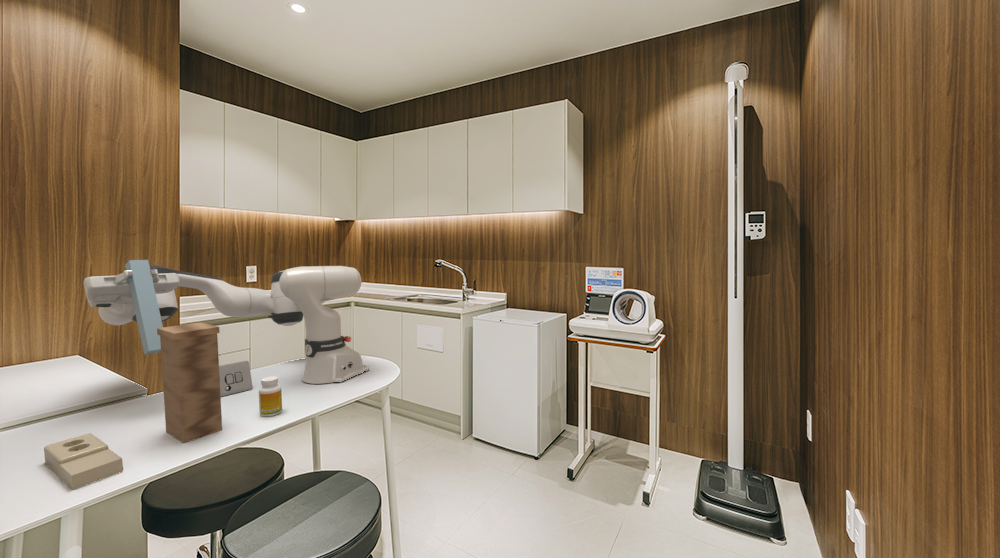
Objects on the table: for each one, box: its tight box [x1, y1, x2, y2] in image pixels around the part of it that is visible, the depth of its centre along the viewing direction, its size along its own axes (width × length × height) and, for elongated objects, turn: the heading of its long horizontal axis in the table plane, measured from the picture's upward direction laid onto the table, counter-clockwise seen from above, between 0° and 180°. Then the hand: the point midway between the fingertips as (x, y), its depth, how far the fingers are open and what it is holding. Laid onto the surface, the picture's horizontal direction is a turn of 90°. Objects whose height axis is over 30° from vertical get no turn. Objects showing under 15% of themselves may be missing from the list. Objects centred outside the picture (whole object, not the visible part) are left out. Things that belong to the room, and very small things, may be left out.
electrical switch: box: [219, 360, 253, 397], centre depth 124 cm, size 9×5×9 cm, turn 141°
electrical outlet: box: [43, 433, 124, 490], centre depth 82 cm, size 7×4×18 cm
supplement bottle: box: [258, 376, 283, 417], centre depth 108 cm, size 5×5×10 cm
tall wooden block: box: [157, 321, 223, 444], centre depth 97 cm, size 9×10×26 cm
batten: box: [124, 259, 164, 356], centre depth 110 cm, size 4×26×4 cm
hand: (141, 272), depth 110 cm, fingers closed on batten, 4 cm apart
